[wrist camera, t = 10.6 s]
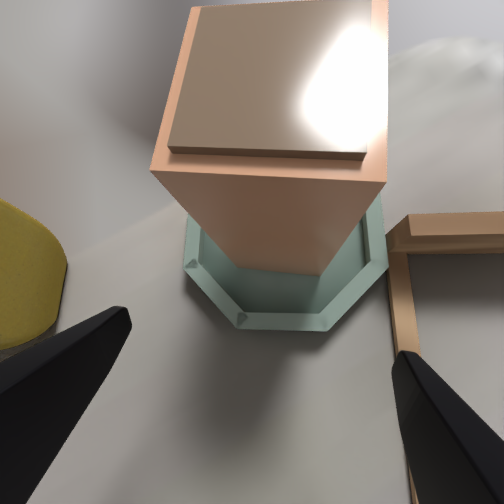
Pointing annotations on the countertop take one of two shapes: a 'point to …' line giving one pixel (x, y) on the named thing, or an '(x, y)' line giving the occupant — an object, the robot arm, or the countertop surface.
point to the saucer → (289, 280)
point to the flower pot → (27, 277)
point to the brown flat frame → (432, 242)
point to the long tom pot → (278, 127)
